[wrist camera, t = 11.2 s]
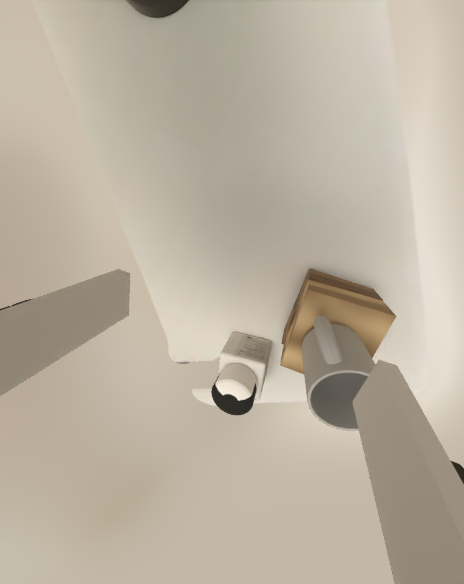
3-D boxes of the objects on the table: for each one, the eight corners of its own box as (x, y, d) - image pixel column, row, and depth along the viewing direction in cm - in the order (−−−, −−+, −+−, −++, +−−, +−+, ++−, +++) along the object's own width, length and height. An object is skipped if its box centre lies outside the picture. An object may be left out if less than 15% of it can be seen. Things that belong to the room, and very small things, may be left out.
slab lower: (309, 268, 37) (309, 276, 32) (373, 289, 35) (383, 300, 30) (284, 329, 41) (281, 343, 37) (339, 350, 40) (343, 367, 35)
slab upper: (308, 279, 32) (308, 289, 28) (382, 300, 30) (396, 316, 26) (283, 346, 37) (280, 365, 32) (346, 369, 35) (352, 392, 30)
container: (266, 373, 45) (252, 429, 34) (229, 362, 47) (204, 412, 36) (272, 340, 43) (259, 388, 31) (233, 330, 45) (207, 373, 33)
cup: (311, 374, 31) (320, 434, 23) (286, 311, 29) (286, 354, 20) (368, 363, 29) (401, 426, 21) (346, 293, 26) (374, 334, 18)
